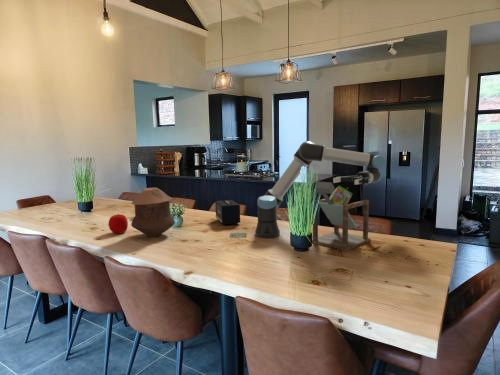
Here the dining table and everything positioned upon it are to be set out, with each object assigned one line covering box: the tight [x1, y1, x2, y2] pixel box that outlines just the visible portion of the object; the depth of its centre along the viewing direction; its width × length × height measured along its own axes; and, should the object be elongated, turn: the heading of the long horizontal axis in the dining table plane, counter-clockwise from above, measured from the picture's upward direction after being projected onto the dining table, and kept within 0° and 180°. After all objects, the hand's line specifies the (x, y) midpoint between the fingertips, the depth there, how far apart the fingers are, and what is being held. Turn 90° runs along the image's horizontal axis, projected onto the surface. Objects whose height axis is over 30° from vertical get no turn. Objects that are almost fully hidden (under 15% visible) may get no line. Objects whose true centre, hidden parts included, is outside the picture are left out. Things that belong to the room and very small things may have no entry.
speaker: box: [215, 199, 241, 226], centre depth 243 cm, size 22×13×15 cm, turn 17°
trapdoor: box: [315, 180, 358, 230], centre depth 184 cm, size 36×16×4 cm
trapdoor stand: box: [311, 198, 371, 252], centre depth 191 cm, size 25×23×24 cm
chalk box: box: [329, 185, 354, 205], centre depth 188 cm, size 9×9×15 cm
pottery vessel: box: [130, 187, 176, 238], centre depth 211 cm, size 26×26×30 cm
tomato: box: [108, 213, 129, 235], centre depth 220 cm, size 12×12×13 cm
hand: (344, 181), depth 189 cm, fingers open, 13 cm apart
